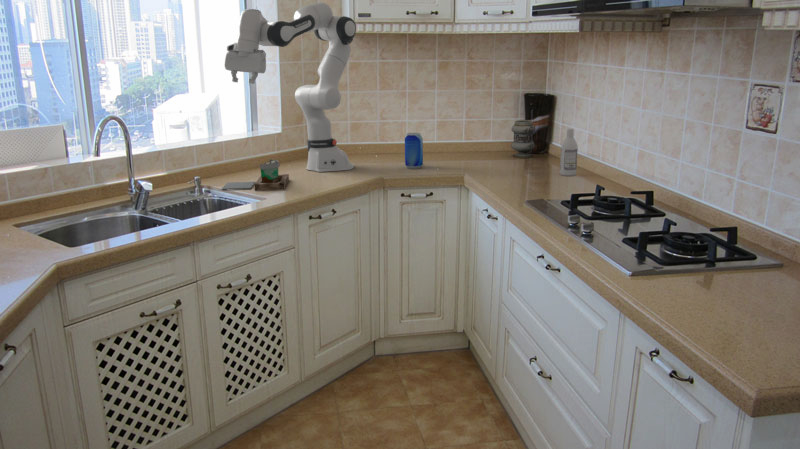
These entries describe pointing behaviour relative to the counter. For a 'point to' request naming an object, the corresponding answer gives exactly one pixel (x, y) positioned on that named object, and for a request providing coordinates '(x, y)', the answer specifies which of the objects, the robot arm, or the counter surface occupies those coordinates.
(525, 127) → the apothecary jar
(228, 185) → the mat
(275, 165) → the food container
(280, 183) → the pocket frame
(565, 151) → the bath foam
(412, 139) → the beer can
